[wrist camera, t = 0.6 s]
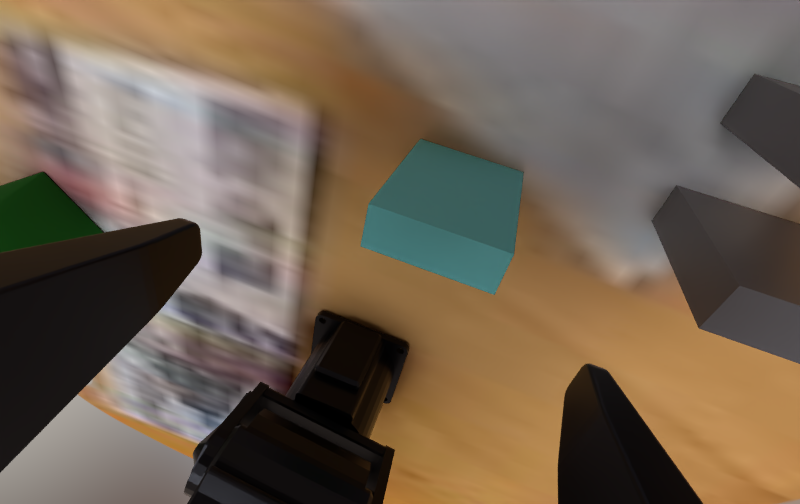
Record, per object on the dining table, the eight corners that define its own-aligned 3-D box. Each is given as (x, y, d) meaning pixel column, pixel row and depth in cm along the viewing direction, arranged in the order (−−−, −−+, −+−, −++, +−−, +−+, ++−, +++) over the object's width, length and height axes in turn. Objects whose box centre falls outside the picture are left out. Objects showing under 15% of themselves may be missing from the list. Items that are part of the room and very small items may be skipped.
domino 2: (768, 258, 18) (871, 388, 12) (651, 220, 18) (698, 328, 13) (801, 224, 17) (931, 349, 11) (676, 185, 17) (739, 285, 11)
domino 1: (509, 205, 20) (494, 294, 14) (411, 172, 20) (360, 246, 15) (523, 172, 19) (514, 254, 13) (420, 138, 19) (368, 203, 14)
